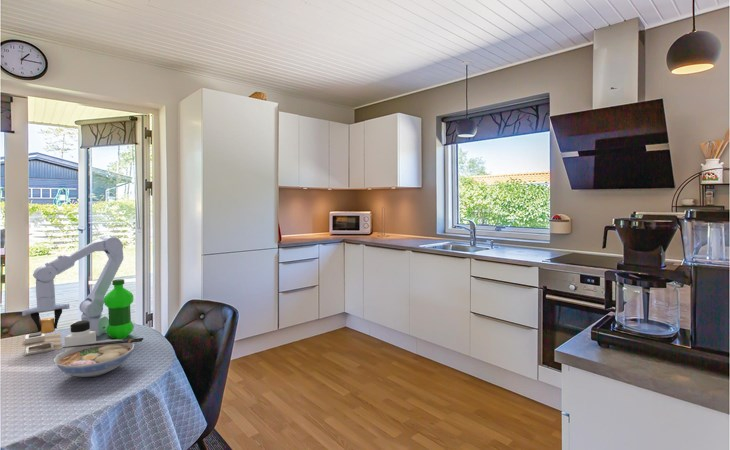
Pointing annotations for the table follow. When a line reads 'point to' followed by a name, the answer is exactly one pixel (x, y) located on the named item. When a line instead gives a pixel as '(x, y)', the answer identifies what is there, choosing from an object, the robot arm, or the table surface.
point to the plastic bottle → (119, 310)
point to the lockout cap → (47, 325)
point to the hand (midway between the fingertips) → (47, 329)
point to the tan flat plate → (48, 339)
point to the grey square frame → (39, 350)
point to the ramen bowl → (94, 357)
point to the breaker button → (35, 334)
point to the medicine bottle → (80, 334)
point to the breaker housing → (34, 338)
